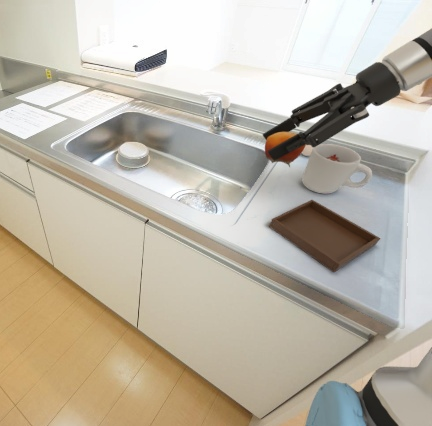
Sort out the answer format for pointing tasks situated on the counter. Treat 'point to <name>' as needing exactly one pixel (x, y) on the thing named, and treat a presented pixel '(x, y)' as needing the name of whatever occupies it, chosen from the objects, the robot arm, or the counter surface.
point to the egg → (307, 150)
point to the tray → (324, 234)
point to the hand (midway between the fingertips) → (268, 146)
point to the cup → (333, 168)
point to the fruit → (278, 139)
